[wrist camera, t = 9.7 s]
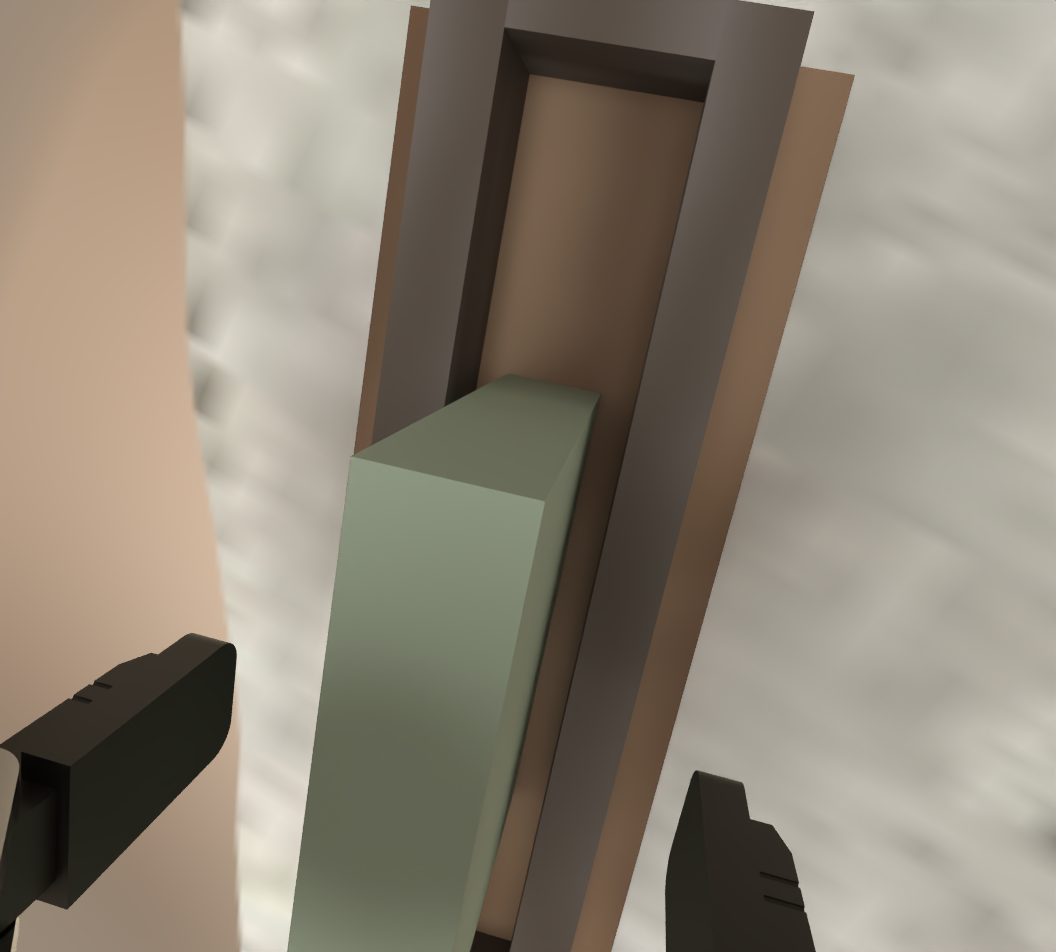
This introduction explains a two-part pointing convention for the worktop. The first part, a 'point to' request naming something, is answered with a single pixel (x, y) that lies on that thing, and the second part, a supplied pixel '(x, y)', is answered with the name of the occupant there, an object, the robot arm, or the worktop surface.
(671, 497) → the door track
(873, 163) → the worktop surface
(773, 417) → the worktop surface
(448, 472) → the door panel
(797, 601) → the worktop surface
